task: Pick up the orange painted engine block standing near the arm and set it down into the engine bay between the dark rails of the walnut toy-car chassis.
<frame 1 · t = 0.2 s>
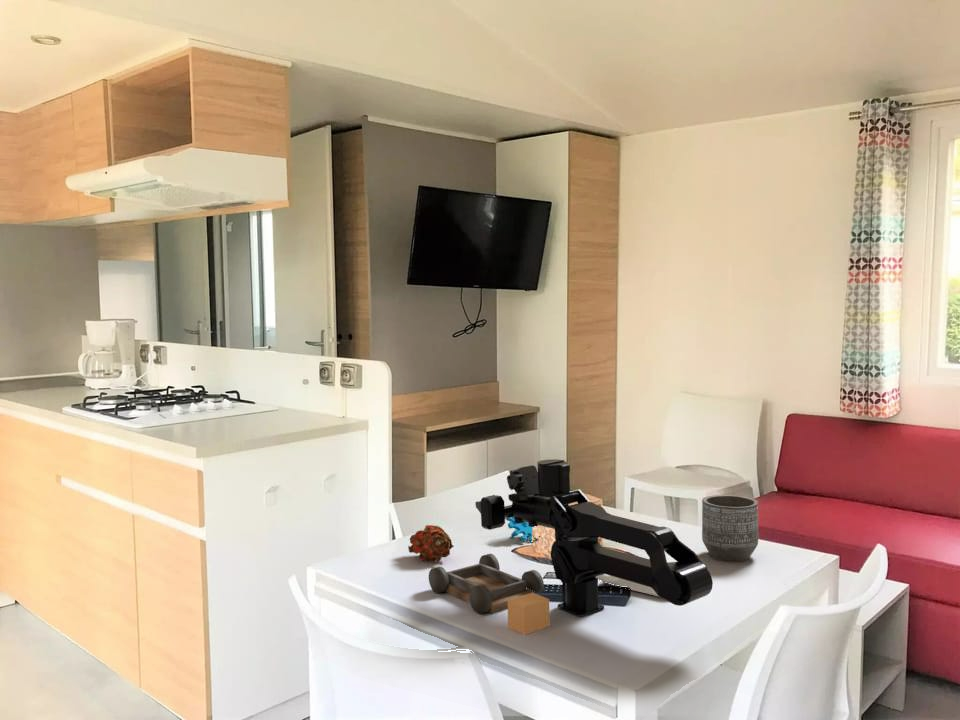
hand: (492, 500, 172), 16 cm above the table, tool horizontal, fingers open, 9 cm apart
gear: (525, 539, 200), on the table
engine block: (528, 626, 145), on the table
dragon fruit: (430, 560, 185), on the table
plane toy: (644, 589, 164), on the table
planter: (729, 557, 183), on the table
chassis: (485, 593, 162), on the table
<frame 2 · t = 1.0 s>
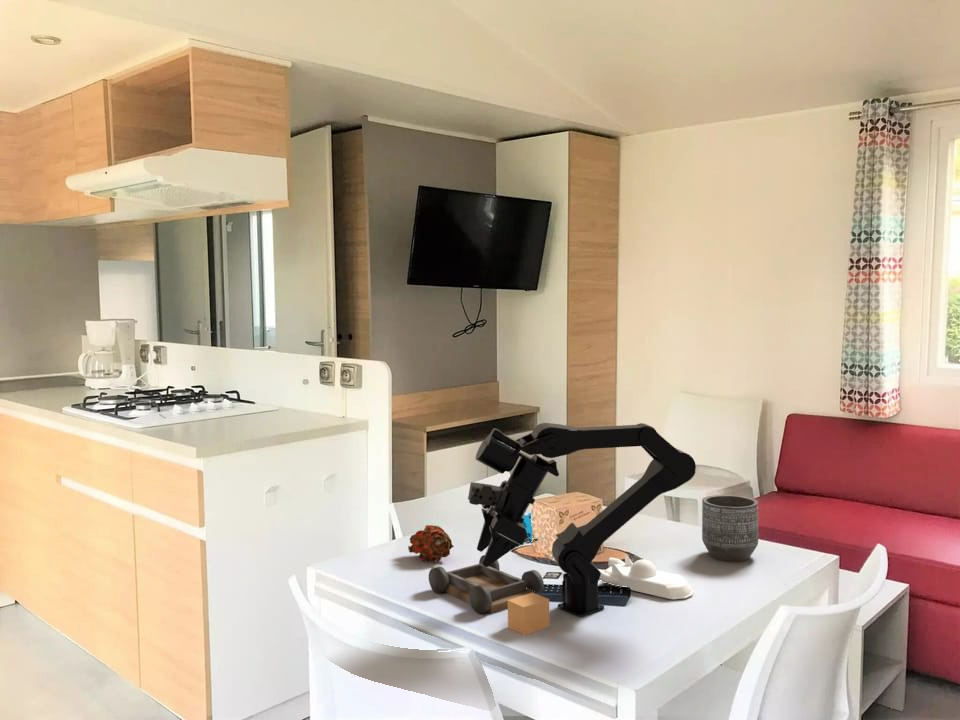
hand: (481, 558, 150), 11 cm above the table, tool tilted 30°, fingers open, 9 cm apart
nothing on the table moved.
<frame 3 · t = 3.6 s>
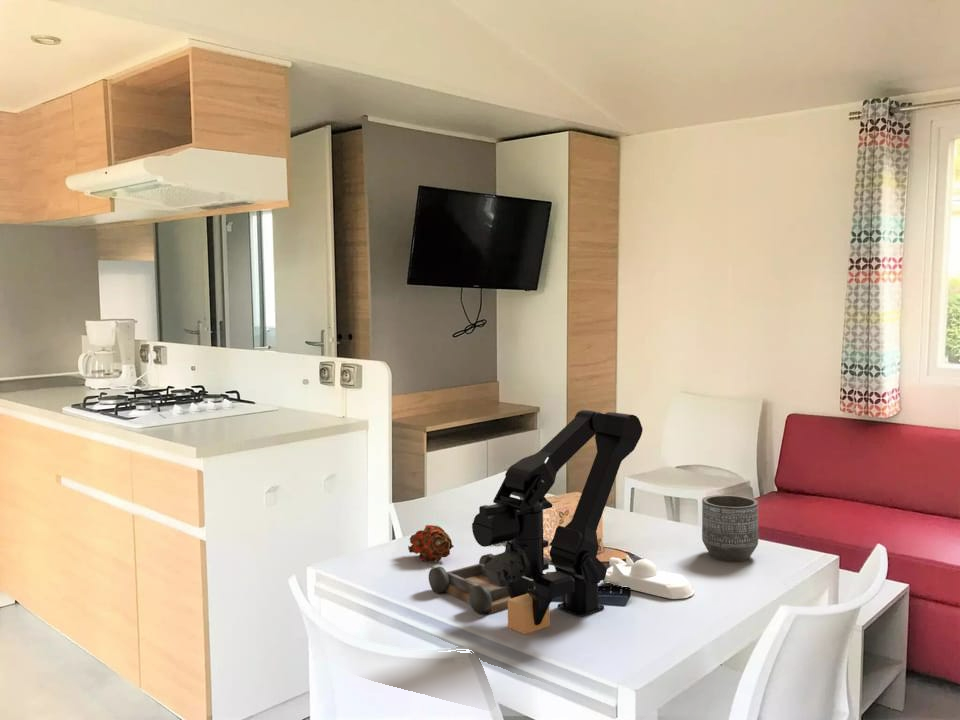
hand: (528, 620, 145), 1 cm above the table, tool pointing down, fingers closed on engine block, 4 cm apart
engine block: (528, 626, 145), on the table, touching gripper
everything else where it was.
when the fingers open (4 cm above the table, at t = 8.3 s): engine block drops 1 cm, resting on chassis.
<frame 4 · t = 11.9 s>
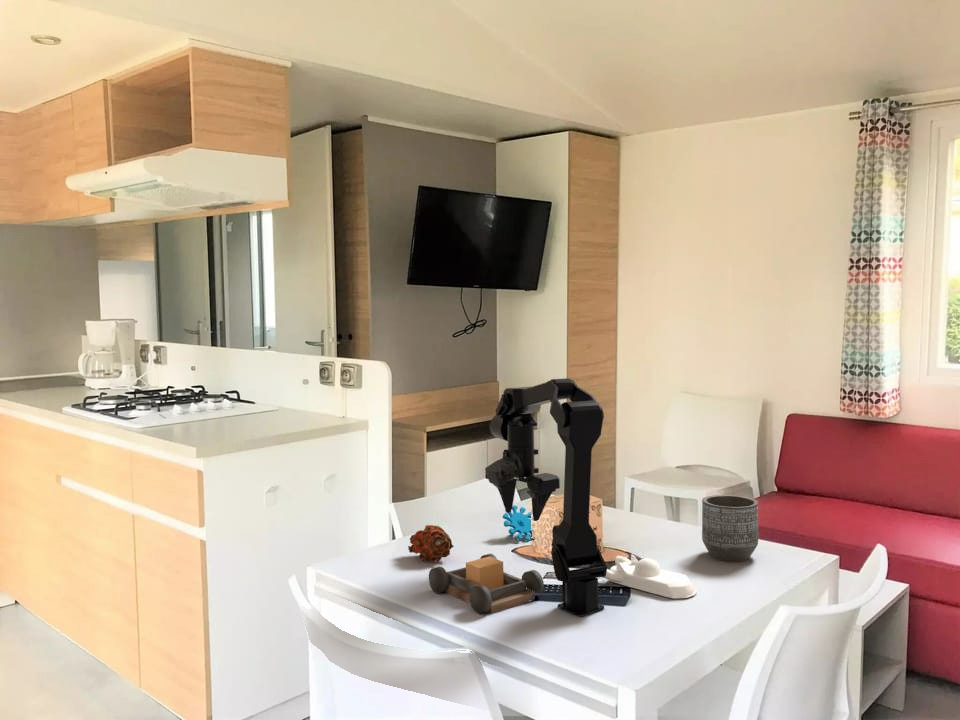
hand: (522, 516, 175), 12 cm above the table, tool pointing down, fingers open, 9 cm apart
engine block: (484, 586, 162), point 1 cm above the table, touching chassis
at the end: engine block 0.1 cm off-centre on the chassis, point 1.5 cm above the chassis's base; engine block tilted 0°; the gripper is holding nothing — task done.
